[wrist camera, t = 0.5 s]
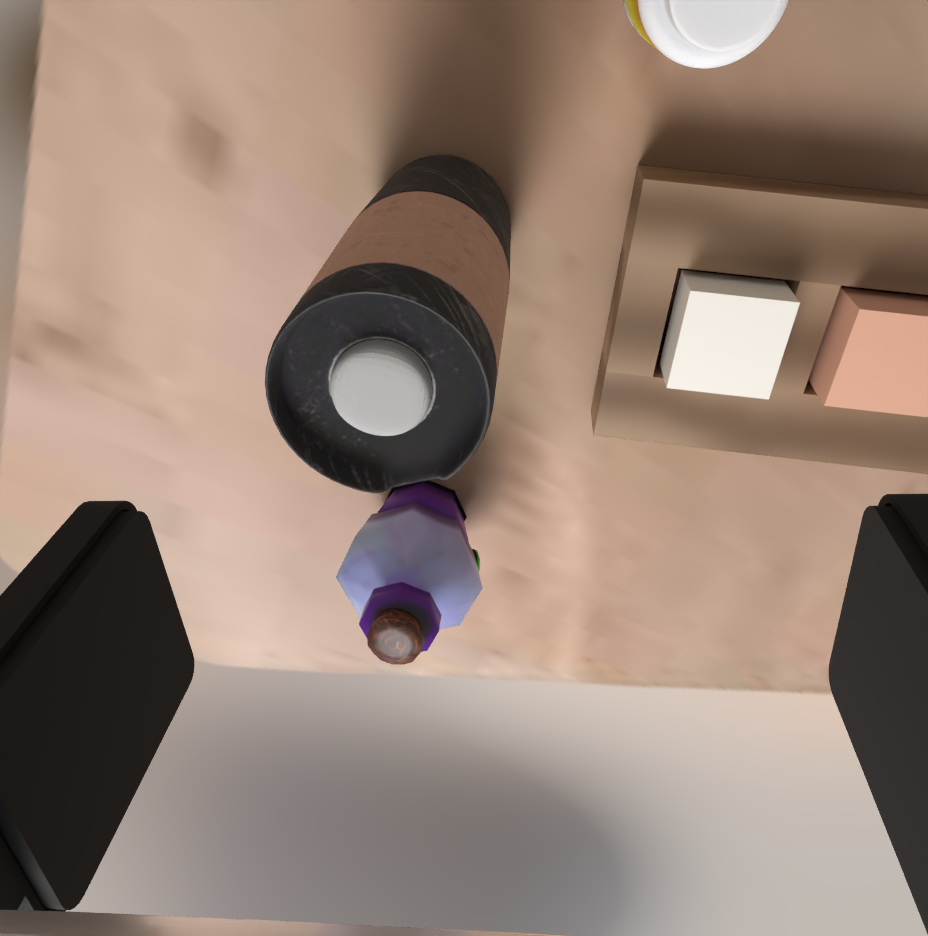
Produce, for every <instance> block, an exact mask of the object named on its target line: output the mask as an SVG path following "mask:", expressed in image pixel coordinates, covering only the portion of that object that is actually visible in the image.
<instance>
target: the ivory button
mask: <svg viewBox="0 0 928 936" xmlns="http://www.w3.org/2000/svg"><path fill="white" fill-rule="evenodd" d="M799 305H800V302H799V300H798V299H797V298H796V296H795V295H794V294H793V292H792V291H791V289H790V288H789V287H788V285H787V284H786V283H785V281H779V280H770V279H761V278H751V277H742V276H733V275H724V274H714V273H705V272H696V271H687V270H681V274H680V278H679V283H678V287H677V291H676V295H675V300H674V304H673V308H672V312H671V317H670V321H669V325H668V329H667V334H666V338H665V342H664V346H663V351H662V355H661V359H660V366H661V370H662V373H663V377H664V381H665V384H666V388H670V389H679V390H688V391H697V392H706V393H715V394H724V395H733V396H742V397H751V398H759V399H768V400H769V397H770V394H771V391H772V388H773V385H774V382H775V379H776V376H777V373H778V370H779V366H780V363H781V360H782V357H783V354H784V351H785V348H786V345H787V342H788V339H789V336H790V332H791V329H792V326H793V323H794V320H795V317H796V314H797V311H798V308H799Z"/></svg>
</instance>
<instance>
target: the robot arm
mask: <svg viewBox="0 0 928 936" xmlns="http://www.w3.org/2000/svg"><path fill="white" fill-rule="evenodd" d="M193 673H194V657H193V653H192V649H191V646H190V643H189V640H188V637H187V634H186V631H185V628H184V625H183V622H182V619H181V616H180V613H179V610H178V607H177V604H176V600H175V597H174V594H173V591H172V588H171V585H170V582H169V579H168V576H167V573H166V570H165V567H164V564H163V561H162V558H161V555H160V551H159V548H158V545H157V542H156V539H155V536H154V533H153V530H152V527H151V524H150V521H149V519H148V517H147V515H146V514H145V513H144V512H141V511H137V510H136V508H135V506H134V505H133V504H132V503H130V502H128V501H88V502H84V503H83V504H81V505H80V506H79V507H78V508H77V509H76V510H75V511H74V512H73V514H72V515H71V516H70V517H69V518H68V519H67V520H66V522H65V523H64V524H63V525H62V526H61V527H60V528H59V530H58V531H57V532H56V533H55V534H54V535H53V536H52V537H51V539H50V540H49V541H48V542H47V543H46V544H45V545H44V547H43V548H42V549H41V550H40V551H39V552H38V553H37V555H36V556H35V557H34V558H33V559H32V560H31V561H30V563H29V564H28V565H27V566H26V567H25V568H24V569H23V571H22V572H21V573H20V574H19V575H18V576H17V578H16V579H15V580H14V581H13V582H12V583H11V584H10V585H9V586H8V588H7V589H6V590H5V591H4V592H3V593H2V594H1V596H0V936H568V935H550V934H530V933H529V934H528V933H510V932H490V931H470V930H451V929H431V928H410V927H391V926H371V925H350V924H349V925H348V924H329V923H309V922H289V921H268V920H245V919H222V918H199V917H177V916H155V915H132V914H110V913H107V914H106V913H87V912H86V913H85V912H65V911H66V910H71V909H73V908H75V907H76V906H77V905H78V904H79V902H80V901H81V899H82V897H83V896H84V894H85V892H86V890H87V888H88V886H89V884H90V882H91V880H92V878H93V876H94V874H95V872H96V870H97V868H98V866H99V864H100V862H101V860H102V858H103V856H104V854H105V852H106V850H107V848H108V846H109V844H110V842H111V840H112V839H113V836H114V835H115V832H116V831H117V829H118V826H119V824H120V823H121V820H122V819H123V817H124V815H125V813H126V811H127V809H128V806H129V805H130V803H131V801H132V798H133V797H134V795H135V793H136V791H137V789H138V787H139V785H140V783H141V780H142V779H143V777H144V775H145V772H146V771H147V769H148V767H149V765H150V763H151V761H152V759H153V757H154V755H155V753H156V751H157V749H158V747H159V745H160V743H161V741H162V739H163V737H164V735H165V733H166V731H167V729H168V726H169V725H170V723H171V721H172V719H173V717H174V715H175V713H176V711H177V709H178V707H179V705H180V703H181V701H182V699H183V697H184V695H185V693H186V691H187V689H188V687H189V685H190V683H191V680H192V677H193ZM829 682H830V687H831V691H832V694H833V697H834V699H835V702H836V704H837V707H838V709H839V712H840V714H841V717H842V719H843V722H844V724H845V727H846V729H847V732H848V734H849V737H850V739H851V742H852V745H853V747H854V750H855V752H856V754H857V757H858V760H859V762H860V765H861V767H862V770H863V772H864V775H865V777H866V780H867V782H868V785H869V787H870V790H871V792H872V795H873V797H874V800H875V802H876V805H877V808H878V810H879V813H880V815H881V818H882V820H883V823H884V825H885V827H886V830H887V833H888V835H889V838H890V840H891V842H892V845H893V848H894V850H895V853H896V855H897V858H898V860H899V863H900V865H901V868H902V871H903V873H904V876H905V878H906V881H907V883H908V886H909V888H910V890H911V893H912V896H913V898H914V901H915V903H916V906H917V908H918V911H919V913H920V916H921V918H922V921H923V923H924V926H925V928H926V931H927V934H928V494H887V495H885V496H883V497H882V499H881V500H880V502H879V505H878V506H869V507H867V508H866V510H865V511H864V514H863V517H862V522H861V526H860V530H859V535H858V539H857V544H856V548H855V552H854V557H853V561H852V566H851V570H850V575H849V579H848V583H847V588H846V592H845V597H844V601H843V605H842V610H841V614H840V619H839V623H838V628H837V632H836V636H835V641H834V645H833V650H832V654H831V658H830V664H829Z"/></svg>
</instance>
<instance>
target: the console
mask: <svg viewBox="0 0 928 936" xmlns="http://www.w3.org/2000/svg"><path fill="white" fill-rule="evenodd" d="M678 268H684V269H693V270H702V271H712V272H721V273H730V274H739V275H748V276H758V277H767V278H776V279H779V281H785V283H786V284H787V285H788V287H789V288H790V289H791V291H792V292H793V294H794V295H795V296H796V298H797V299H798V300H799V302H800V305H799V308H798V311H797V314H796V317H795V320H794V323H793V326H792V329H791V332H790V336H789V339H788V342H787V345H786V348H785V351H784V354H783V357H782V360H781V363H780V366H779V370H778V373H777V376H776V379H775V382H774V385H773V388H772V391H771V394H770V397H769V400H768V399H759V398H751V397H742V396H733V395H724V394H715V393H706V392H697V391H688V390H679V389H670V388H666V384H665V381H664V377H663V373H662V370H661V366H660V359H661V355H658V352H659V348H660V344H661V339H662V335H663V331H664V326H665V322H666V318H667V313H668V309H669V305H670V300H671V296H672V292H673V287H674V283H675V279H676V275H677V270H678ZM841 286H850V287H859V288H869V289H878V290H887V291H896V292H906V293H915V294H924V295H928V195H919V194H910V193H900V192H891V191H881V190H872V189H862V188H852V187H843V186H833V185H824V184H814V183H805V182H795V181H786V180H776V179H767V178H757V177H748V176H738V175H728V174H719V173H709V172H700V171H690V170H681V169H671V168H662V167H652V166H643V165H638V166H637V172H636V177H635V182H634V187H633V193H632V198H631V203H630V208H629V214H628V219H627V224H626V229H625V235H624V240H623V245H622V250H621V255H620V261H619V266H618V271H617V276H616V282H615V287H614V292H613V297H612V303H611V308H610V313H609V318H608V324H607V329H606V334H605V339H604V345H603V350H602V355H601V360H600V366H599V371H598V376H597V381H596V387H595V392H594V397H593V402H592V408H591V416H592V426H593V436H599V437H607V438H616V439H625V440H634V441H642V442H651V443H660V444H669V445H677V446H686V447H695V448H704V449H712V450H721V451H730V452H739V453H747V454H756V455H765V456H774V457H782V458H791V459H800V460H809V461H817V462H826V463H835V464H844V465H852V466H861V467H870V468H879V469H887V470H896V471H905V472H914V473H922V474H928V417H920V416H911V415H902V414H893V413H884V412H875V411H866V410H857V409H848V408H840V407H831V406H824V405H823V403H822V402H821V400H820V398H819V397H818V395H817V393H816V392H815V390H814V388H813V387H812V385H811V384H810V382H809V380H808V379H809V376H810V373H811V370H812V367H813V364H814V362H815V359H816V356H817V353H818V350H819V347H820V344H821V341H822V339H823V336H824V333H825V330H826V327H827V324H828V321H829V318H830V316H831V313H832V310H833V307H834V304H835V301H836V298H837V296H838V293H839V290H840V287H841Z"/></svg>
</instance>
